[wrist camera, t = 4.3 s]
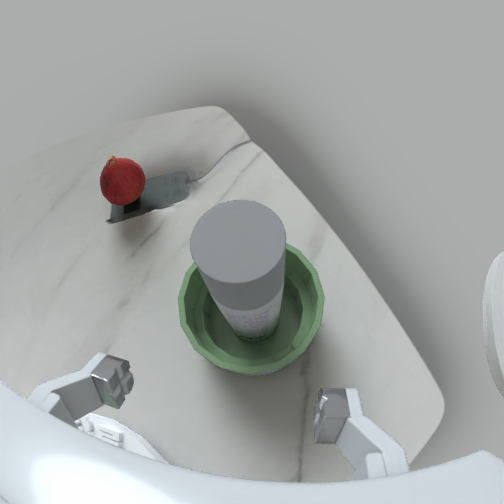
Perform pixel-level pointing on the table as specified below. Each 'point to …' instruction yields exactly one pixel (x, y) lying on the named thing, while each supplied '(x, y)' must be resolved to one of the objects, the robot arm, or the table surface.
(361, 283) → the table surface
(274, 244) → the container
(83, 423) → the giant coin
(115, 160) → the onion
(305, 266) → the green faceted pot
